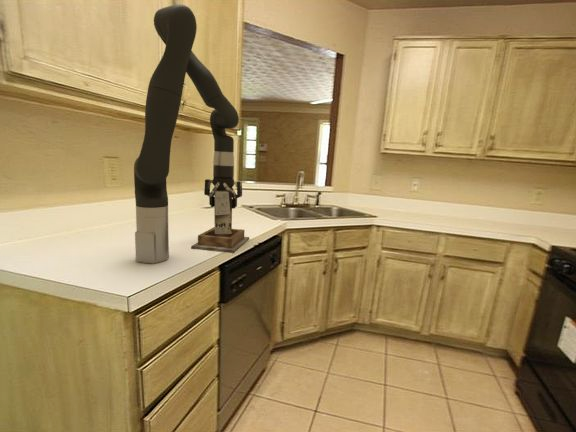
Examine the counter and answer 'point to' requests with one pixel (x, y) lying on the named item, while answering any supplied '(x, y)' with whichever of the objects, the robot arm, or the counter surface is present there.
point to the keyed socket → (221, 241)
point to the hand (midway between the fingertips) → (223, 207)
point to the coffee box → (223, 212)
